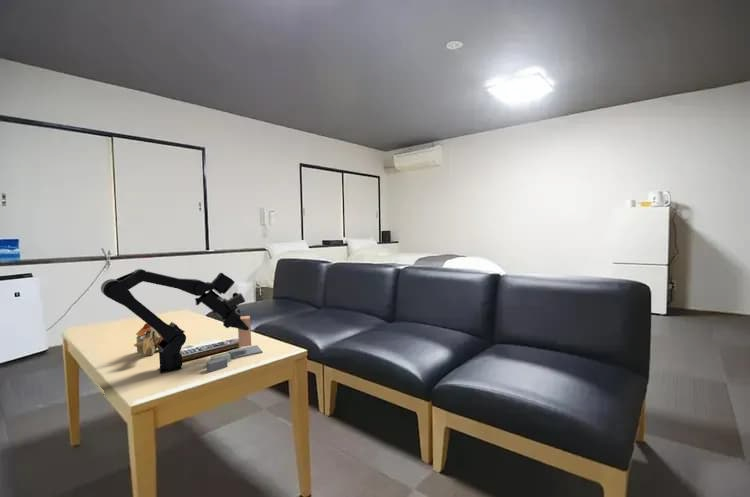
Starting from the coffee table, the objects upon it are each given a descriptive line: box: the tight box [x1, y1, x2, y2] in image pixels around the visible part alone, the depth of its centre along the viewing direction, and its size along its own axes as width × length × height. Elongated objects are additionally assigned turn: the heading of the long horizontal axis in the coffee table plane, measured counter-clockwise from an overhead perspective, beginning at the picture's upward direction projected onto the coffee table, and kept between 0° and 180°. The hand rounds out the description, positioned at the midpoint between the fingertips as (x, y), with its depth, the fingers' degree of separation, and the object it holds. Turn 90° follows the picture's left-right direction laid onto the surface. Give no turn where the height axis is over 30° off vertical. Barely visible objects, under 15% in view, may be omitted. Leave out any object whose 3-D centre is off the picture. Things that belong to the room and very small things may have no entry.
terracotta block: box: [237, 315, 252, 348], centre depth 140 cm, size 4×4×11 cm
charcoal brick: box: [206, 357, 229, 373], centre depth 125 cm, size 6×3×3 cm, turn 137°
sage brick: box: [210, 351, 232, 364], centre depth 130 cm, size 6×3×3 cm, turn 133°
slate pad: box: [228, 345, 263, 360], centre depth 141 cm, size 11×9×1 cm
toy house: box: [135, 322, 162, 356], centre depth 139 cm, size 8×21×14 cm, turn 19°
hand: (247, 328), depth 141 cm, fingers closed on terracotta block, 4 cm apart
